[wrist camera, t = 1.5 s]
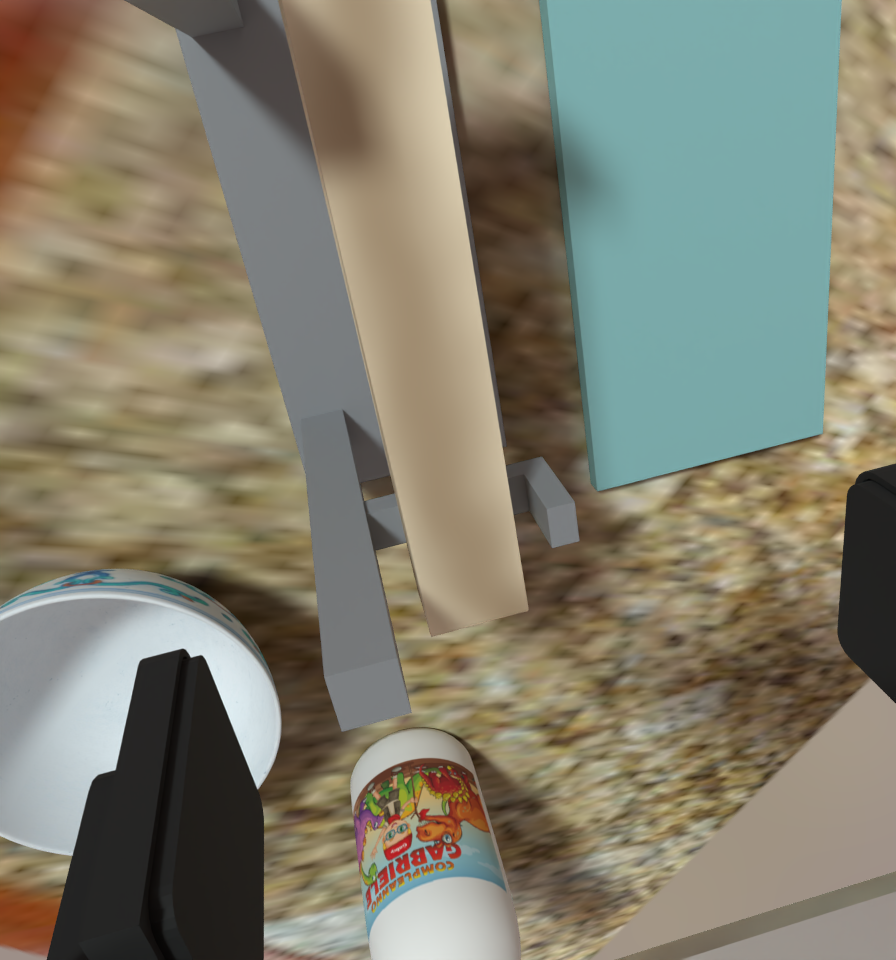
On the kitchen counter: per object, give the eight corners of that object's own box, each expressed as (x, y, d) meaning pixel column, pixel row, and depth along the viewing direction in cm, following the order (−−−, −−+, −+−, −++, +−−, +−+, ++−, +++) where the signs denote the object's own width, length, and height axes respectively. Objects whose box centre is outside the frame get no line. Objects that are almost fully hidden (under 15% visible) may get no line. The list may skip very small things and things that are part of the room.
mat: (837, -269, 32) (853, -279, 31) (812, 426, 46) (822, 433, 45) (516, -214, 30) (523, -223, 30) (590, 483, 44) (597, 491, 43)
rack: (409, -128, 31) (594, -403, 13) (500, 437, 42) (667, 694, 24) (146, -81, 30) (-30, -310, 12) (310, 484, 41) (340, 786, 24)
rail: (374, -211, 21) (389, -254, 18) (507, 566, 32) (528, 610, 29) (233, -187, 20) (228, -227, 18) (417, 590, 31) (431, 636, 29)
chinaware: (322, 681, 47) (330, 784, 40) (74, 779, 46) (41, 899, 40) (203, 462, 40) (190, 542, 33) (-89, 576, 39) (-164, 680, 32)
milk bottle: (495, 759, 52) (611, 1107, 34) (411, 833, 53) (480, 1203, 36) (410, 703, 49) (490, 1057, 31) (322, 782, 50) (351, 1165, 32)
